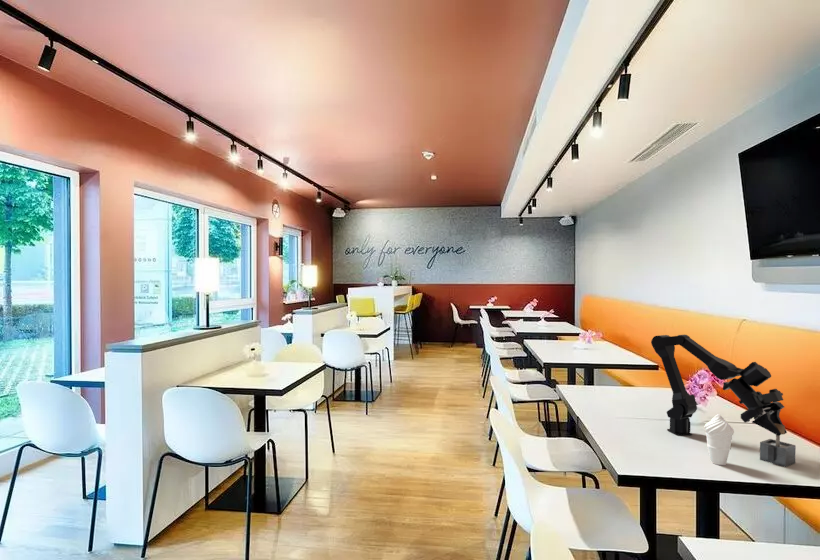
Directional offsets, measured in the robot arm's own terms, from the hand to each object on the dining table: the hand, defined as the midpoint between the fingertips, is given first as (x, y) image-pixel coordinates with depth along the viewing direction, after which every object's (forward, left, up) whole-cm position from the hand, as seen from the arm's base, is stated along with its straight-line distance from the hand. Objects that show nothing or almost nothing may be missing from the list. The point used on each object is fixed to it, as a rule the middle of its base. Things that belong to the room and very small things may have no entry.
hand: (782, 434), depth 155 cm
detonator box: (-1, +1, -10) cm, 10 cm away
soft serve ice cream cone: (-22, +1, -10) cm, 24 cm away
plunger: (-1, +1, -5) cm, 5 cm away
